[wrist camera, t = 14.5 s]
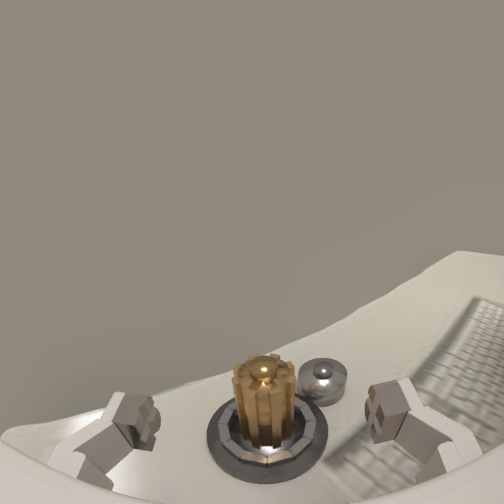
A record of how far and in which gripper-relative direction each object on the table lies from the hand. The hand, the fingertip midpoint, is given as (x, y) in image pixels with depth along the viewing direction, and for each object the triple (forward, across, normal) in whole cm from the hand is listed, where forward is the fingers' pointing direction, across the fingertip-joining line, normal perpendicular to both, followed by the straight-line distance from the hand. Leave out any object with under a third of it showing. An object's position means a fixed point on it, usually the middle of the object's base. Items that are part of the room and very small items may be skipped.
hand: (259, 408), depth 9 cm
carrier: (+11, +1, +19) cm, 22 cm away
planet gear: (+11, +1, +18) cm, 21 cm away
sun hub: (+18, -6, +20) cm, 28 cm away
